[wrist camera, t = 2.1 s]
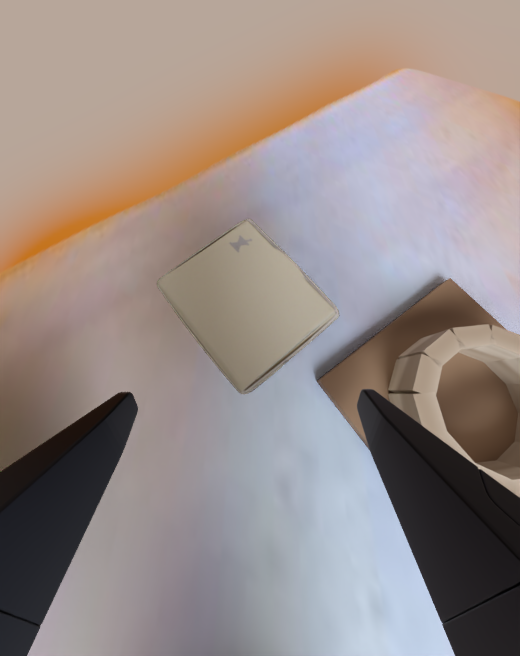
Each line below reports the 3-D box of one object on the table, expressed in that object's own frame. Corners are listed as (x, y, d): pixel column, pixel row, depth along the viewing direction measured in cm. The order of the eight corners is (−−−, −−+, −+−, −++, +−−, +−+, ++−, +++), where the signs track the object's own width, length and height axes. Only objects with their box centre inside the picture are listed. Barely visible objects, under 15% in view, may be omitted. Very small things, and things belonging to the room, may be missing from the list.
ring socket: (595, 427, 17) (689, 437, 14) (464, 572, 15) (534, 635, 11) (441, 283, 21) (481, 259, 17) (316, 380, 19) (330, 378, 15)
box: (217, 347, 20) (142, 274, 7) (255, 318, 20) (244, 207, 8) (254, 394, 18) (239, 402, 6) (292, 361, 19) (348, 309, 7)
